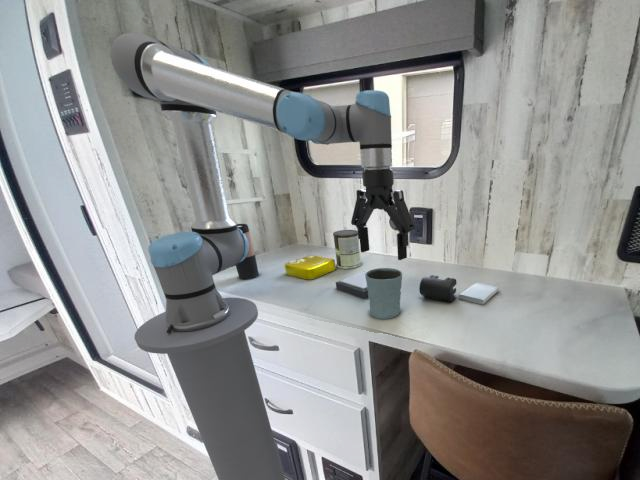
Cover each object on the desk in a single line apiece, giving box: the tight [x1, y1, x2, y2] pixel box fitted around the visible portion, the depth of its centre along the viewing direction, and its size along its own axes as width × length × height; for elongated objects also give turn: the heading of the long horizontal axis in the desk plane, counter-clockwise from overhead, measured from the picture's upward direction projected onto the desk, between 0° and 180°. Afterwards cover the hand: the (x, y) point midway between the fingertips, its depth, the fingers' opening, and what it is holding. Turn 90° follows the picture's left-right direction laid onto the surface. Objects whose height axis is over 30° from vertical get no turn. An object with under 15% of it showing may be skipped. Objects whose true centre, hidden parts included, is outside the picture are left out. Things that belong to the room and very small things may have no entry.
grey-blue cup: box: [365, 267, 403, 320], centre depth 87 cm, size 10×10×12 cm
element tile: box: [284, 254, 336, 281], centre depth 124 cm, size 15×15×5 cm
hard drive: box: [458, 282, 499, 305], centre depth 98 cm, size 2×8×12 cm
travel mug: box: [235, 223, 260, 281], centre depth 117 cm, size 8×8×20 cm
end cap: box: [418, 274, 458, 303], centre depth 96 cm, size 10×7×7 cm
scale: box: [335, 271, 369, 300], centre depth 107 cm, size 14×14×3 cm
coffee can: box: [332, 229, 362, 270], centre depth 129 cm, size 10×10×14 cm
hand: (382, 254), depth 82 cm, fingers open, 13 cm apart
